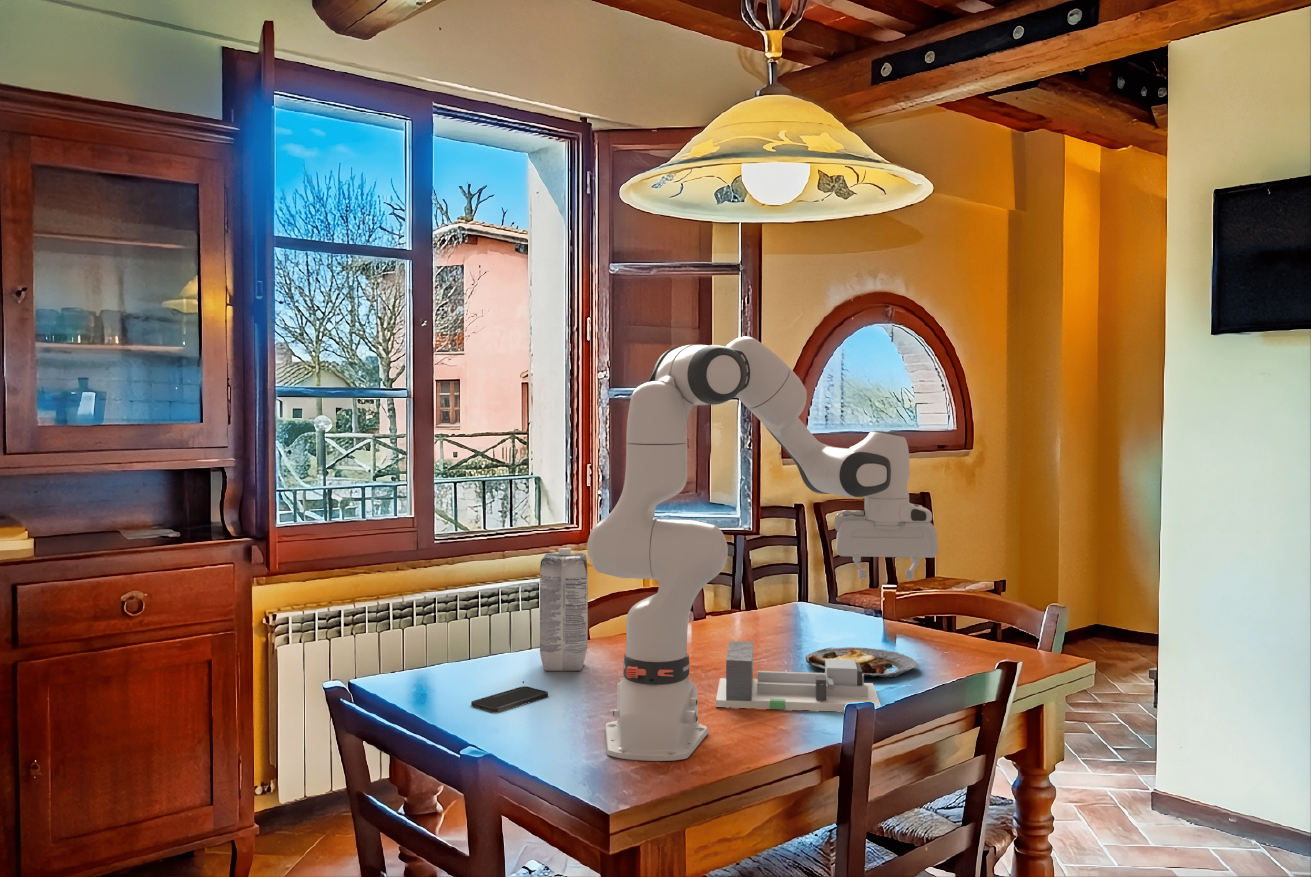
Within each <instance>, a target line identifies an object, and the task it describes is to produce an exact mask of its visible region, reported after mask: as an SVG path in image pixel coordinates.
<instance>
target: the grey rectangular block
mask: <svg viewBox="0 0 1311 877" xmlns="http://www.w3.org/2000/svg"><path fill="white" fill-rule="evenodd" d="M725 664H726V665H725V666H726V667H725V673H726V674H725V678H726V700H727V701H746V700H749V701H750V700H752V687H753V679H754V641H739V640H738V641H736V640H735V641H734V640H730V641H729V643H728V648H727V655H726V663H725Z"/></svg>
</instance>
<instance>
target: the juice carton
mask: <svg viewBox="0 0 1311 877" xmlns="http://www.w3.org/2000/svg"><path fill="white" fill-rule="evenodd" d="M571 552H572V548H570V547H568V548H567V547H566V548H565V547H562V548H558V549H557V553H553V552H547V553H545V554H544V556H543V557H542V559H541V560H540V566H539V567H540V569H539V655H540V659H541V664H542V668H543V671H545V672H546V671H547V672H561V671H562V672H563V671H564V672H567V671H568V672H580V671H582V669H583V666H584V662H585V660H586V654H587V651H588V620H589V618H588V614H589V613H588V610H589V609H588V601H589V600H588V598H589V597H588V595H589V594H588V592H589V591H588V562H587V559H588V558H587V555H586V554H585V553H583V552H578V553H571Z"/></svg>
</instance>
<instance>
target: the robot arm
mask: <svg viewBox="0 0 1311 877" xmlns="http://www.w3.org/2000/svg"><path fill="white" fill-rule="evenodd" d="M807 394H808V393H807V389H806V387H805V386H804V384H803V382H802V380H801V379H800V377H799V376H798V375H797V374H796V373H795V371H793V369H791V367H789V366H788V364H787V363H786V362H785V361H784V360H783V359H782V358H781V357H779V356H778V354H776V353H775V352H773V351H772V350H771V349H770V348H769V347H767V346H766V345H764V344H763V343H762V342H760V341H759V340H757V339H756V338H754V337H752V336H741V337H737V338H735V339H734V340H732V341H730V342H729V343H728V344H726V346H724V345H719V344H710V345H706V344H700V343H694V344H693V343H692V344H687V345H681V346H676V347H671V348H670V349H668V350H667V351H665V352H664V353H662V354H661V355H660V357H659V358H658V360H657V361H656V363H655V366H654V367H653V371H652V374H651V376H650V378H649V379H648V381H647V382H645V383H643V384H642V383H641V384H640V385H639V386H637V387H636V388H635V389H634V390H633V391H632V394H631V396H630V401H629V405H628V406H629V407H628V412H627V414H628V415H627V422H626V434H625V435H626V438H625V439H626V440H625V441H626V444H625V448H626V449H625V450H626V451H625V452H626V454H625V455H626V456H625V472H624V473H625V474H624V482H623V488H622V490H621V491H622V492H621V494H620V497H619V498H618V501H617V503H616V504H615V506H614V507H613V509H612V510H611V512H610V513H608V515H606V516H605V517H604V518H603V519H602V520H600V521H598V523H597V524H595V526H594V527H593V529H592V530H591V532H590V534H589V536H588V539H587V545H586V547H587V548H586V550H587V556H588V559H589V562H590V563H591V565H592V567H593V568H594V570H595V571H597V572H598V573H599V574H604V575H608V576H612V577H617V578H620V579H637V580H640V579H641V580H642V579H643V580H655V581H658V588H657V593H654V594H653V595H650V596H648V597H646V598H643V599H642V600H640V601H638V602H637V603H635V604H634V605H633V606H631V608H630V609H629V611H628V612H627V616H626V619H625V620H626V621H625V622H626V633H625V634H626V644H625V645H626V651H625V654H624V658H623V662H622V663H623V665H622V667H623V671H622V672H623V674H622V675H623V678H622V680H620V681H619V682H617V683H616V684H617V685H616V690H617V691H616V692H617V694H616V709H613V710H612V716H613V718H616V720H612V721H608V722H606V723H605V726H604V727H605V728H604V732H605V743H606V753H607V755H608V756H611V757H613V758H617V759H623V760H624V759H625V760H633V761H645V762H646V761H648V762H649V761H650V762H651V761H652V762H654V761H655V762H663V761H664V762H666V761H667V762H668V761H669V762H671V761H680V760H685V759H688V758H689V757H690V756H691V755H692V753H693V752H694V751H695V750H696V749H697V747H698V746H699V745H700V744H701V742H702V741H703V740H704V739H705V737H706V736H707V735H708V734H709V729H708V728H709V727H708V726H706V725H704V724H701V723H699V709H698V708H699V707H698V706H699V704H698V702H699V701H698V687H697V685H696V684H695V683H694V682H692V681H691V678H690V677H689V676H690V666H691V664H690V663H691V662H690V655H689V654H688V653H687V652H688V630H689V628H688V627H689V618H690V612H691V610H692V607H693V604H694V601H695V599H696V598H697V596H698V594H699V593H700V592H701V590H702V589H703V588H704V587H705V586H706V585H707V584H708V583H710V581H712V580H714V579H715V578H717V576H718V575H720V574H721V572H722V570H723V569H724V567H725V566H726V563H727V560H728V554H729V552H728V551H729V547H728V543H727V540H726V536H725V535H724V532H722V530H721V528H719V527H718V526H717V525H715V524H712V523H708V522H703V521H698V520H694V519H671V518H670V519H669V518H667V519H666V518H658V517H655V516H656V515H655V512H656V509H657V506H658V505H659V504H661V503H663V502H666V501H667V500H670V499H672V498H673V497H675V496H677V495H679V494H680V493H681V492H682V491H683V490H684V488H685V487H686V484H687V481H688V430H687V429H688V428H687V425H688V421H689V420H688V419H689V416H690V413H691V411H692V409H693V407H694V406H708V405H710V406H711V405H713V406H715V405H716V406H717V405H720V404H721V405H722V404H723V403H726V402H729V401H731V400H732V399H733V398H735V397H737V399H739V401H740V402H741V403H742V404H743V405H744V406H745V408H747V409H748V410H749V411H750V412H751V413H752V414H753V415H754V416H755V417H756V418H757V419H758V420H759V421H760V422H761V423H762V424H763V425H764V427H765V428H766V430H767V431H768V432H769V433H770V435H771V436H772V437H773V438H774V440H776V442H777V443H778V444H779V445H780V447H781V448H782V449H783V450H784V451H785V452H786V453H787V455H788V456H789V457H790V458H791V459H792V460H793V462H794V464H795V466H796V467H797V470H798V472H799V474H800V476H801V479H802V481H803V483H804V484H805V486H806V488H808V489H809V490H810V491H812V492H814V493H816V494H820V495H835V496H841V497H848V498H853V499H854V498H855V499H857V498H862V497H864V504H863V505H864V506H863V507H864V508H863V509H864V510H848V509H847V510H842V511H841V512H839V513H837V514H836V515H835V517H834V529H835V531H836V532H837V533H836V539H835V551H836V552H835V553H837V555H839V557H852V561H853V563H854V565H855V566H856V568H857V571H858V575H857V576H858V579H867V569H866V568H862V567H861V565H860V563H859V562H862V560H861V559H862V558H863V557H864V558H865V557H869V558H871V557H872V558H879V557H881V558H882V557H883V558H910V560H911V562H912V564H911V565H910V567H909V568H906V569H905V575H904V578H905V579H906V580H914V579H915V576H914V575H915V573H914V572H915V571H916V569H917V567H918V566H919V565H920V561H921V560H920V558H932V559H933V558H936V556H937V555H938V553H939V545H938V544H939V541H938V535H937V530H936V527H935V526H934V525H933V524H932V522H931V521H932V520H933V514H932V512H931V510H929V509H928V508H926V507H924V506H920V505H918V504H916V503H912V502H910V494H909V490H908V482H909V478H910V452H909V451H910V450H909V446H908V442H907V439H906V437H904V436H903V435H902V434H900V433H896V432H890V431H882V430H873V431H869V432H868V434H867V436H866V437H865V438H864V439H863V440H861V441H859V442H858V443H856V444H855V445H851V446H849V448H845V447H837V446H831V445H828V444H825V443H822V442H820V441H818V439H817V438H816V437H815V436H814V435H813V434H812V432H811V431H810V430H809V428H808V427H807V426H806V425H805V423H803V421H802V420H801V419H800V418H799V417H800V415H801V414H802V413H803V411H804V409H805V407H806V404H807V398H808V395H807Z"/></svg>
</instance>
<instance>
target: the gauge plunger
mask: <svg viewBox="0 0 1311 877" xmlns="http://www.w3.org/2000/svg"><path fill="white" fill-rule="evenodd" d="M824 673H825V676H826V680H827V681H826V685H828V689H832V690H834V685H851V686H862V669H861V666H860V663H855V660H836V659H825V669H824Z"/></svg>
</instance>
